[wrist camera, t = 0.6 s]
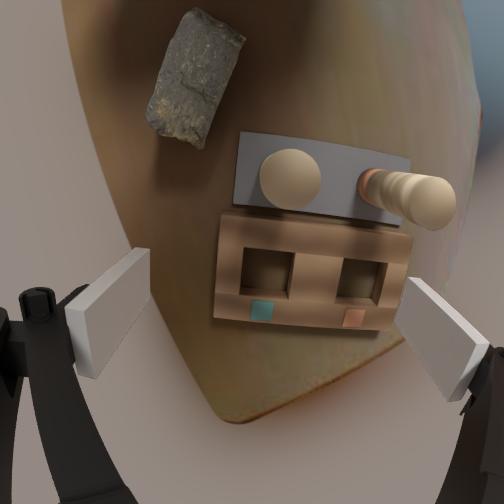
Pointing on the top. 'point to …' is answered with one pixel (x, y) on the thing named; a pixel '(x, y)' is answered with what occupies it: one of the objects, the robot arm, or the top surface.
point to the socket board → (309, 272)
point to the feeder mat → (331, 168)
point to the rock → (193, 77)
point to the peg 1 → (290, 178)
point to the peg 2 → (409, 196)
